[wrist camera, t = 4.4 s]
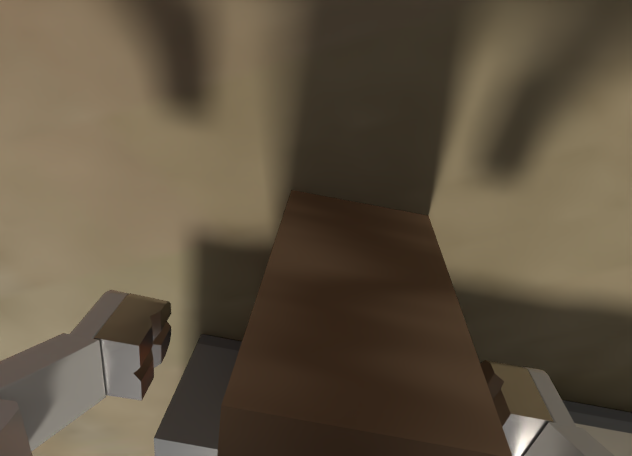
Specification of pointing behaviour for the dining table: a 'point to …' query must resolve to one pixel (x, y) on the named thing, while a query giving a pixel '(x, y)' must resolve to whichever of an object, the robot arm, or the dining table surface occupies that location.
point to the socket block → (213, 377)
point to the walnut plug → (357, 344)
